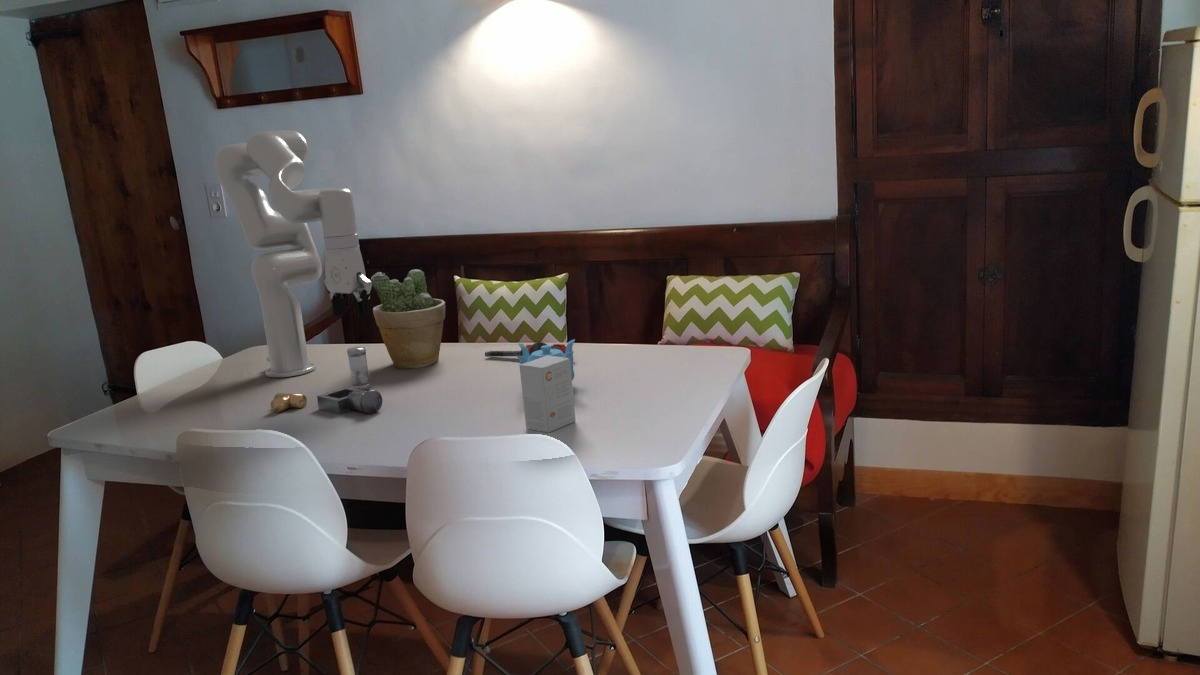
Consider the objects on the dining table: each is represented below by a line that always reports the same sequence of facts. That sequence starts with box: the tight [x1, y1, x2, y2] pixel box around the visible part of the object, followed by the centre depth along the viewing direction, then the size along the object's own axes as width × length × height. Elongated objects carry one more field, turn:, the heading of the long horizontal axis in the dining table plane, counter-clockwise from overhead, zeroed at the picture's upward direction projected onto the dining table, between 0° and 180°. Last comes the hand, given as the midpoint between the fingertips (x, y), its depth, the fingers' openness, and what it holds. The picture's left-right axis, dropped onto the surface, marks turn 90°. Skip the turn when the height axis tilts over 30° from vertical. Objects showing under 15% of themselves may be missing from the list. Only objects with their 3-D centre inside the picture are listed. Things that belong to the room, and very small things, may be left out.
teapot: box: [515, 338, 576, 381], centre depth 208 cm, size 13×13×10 cm
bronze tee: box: [270, 392, 308, 414], centre depth 210 cm, size 7×6×3 cm
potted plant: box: [369, 269, 446, 369], centre depth 241 cm, size 18×19×25 cm
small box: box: [518, 356, 576, 434], centre depth 182 cm, size 8×6×13 cm
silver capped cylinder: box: [346, 345, 371, 391], centre depth 221 cm, size 4×4×10 cm
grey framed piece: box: [316, 386, 383, 415], centre depth 205 cm, size 15×8×5 cm, turn 50°
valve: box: [484, 341, 573, 358], centre depth 239 cm, size 6×26×15 cm
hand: (352, 316), depth 218 cm, fingers open, 9 cm apart
